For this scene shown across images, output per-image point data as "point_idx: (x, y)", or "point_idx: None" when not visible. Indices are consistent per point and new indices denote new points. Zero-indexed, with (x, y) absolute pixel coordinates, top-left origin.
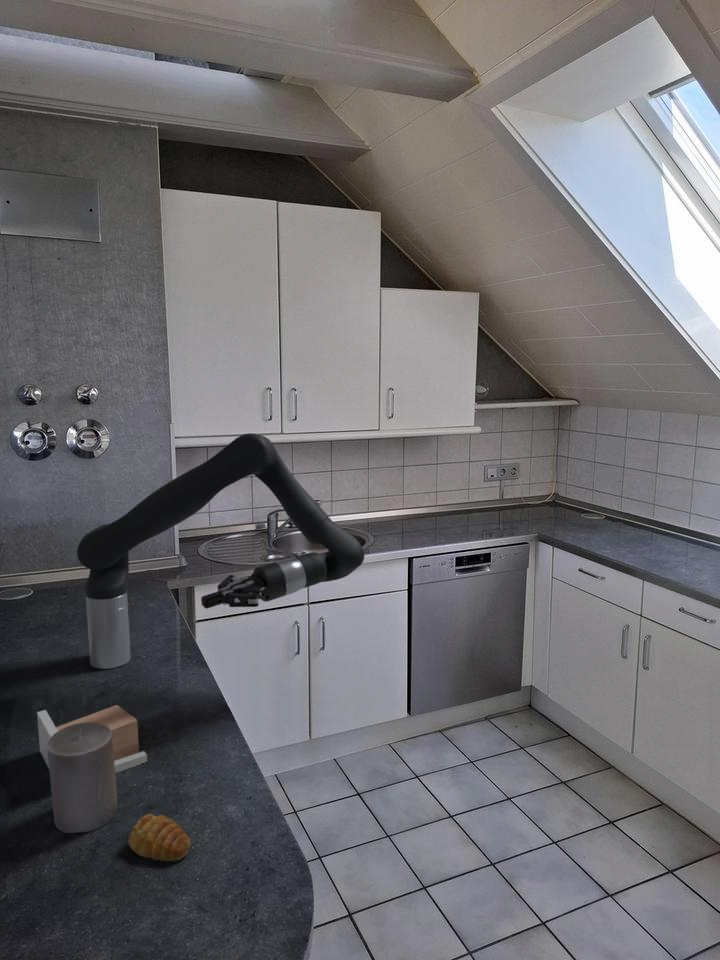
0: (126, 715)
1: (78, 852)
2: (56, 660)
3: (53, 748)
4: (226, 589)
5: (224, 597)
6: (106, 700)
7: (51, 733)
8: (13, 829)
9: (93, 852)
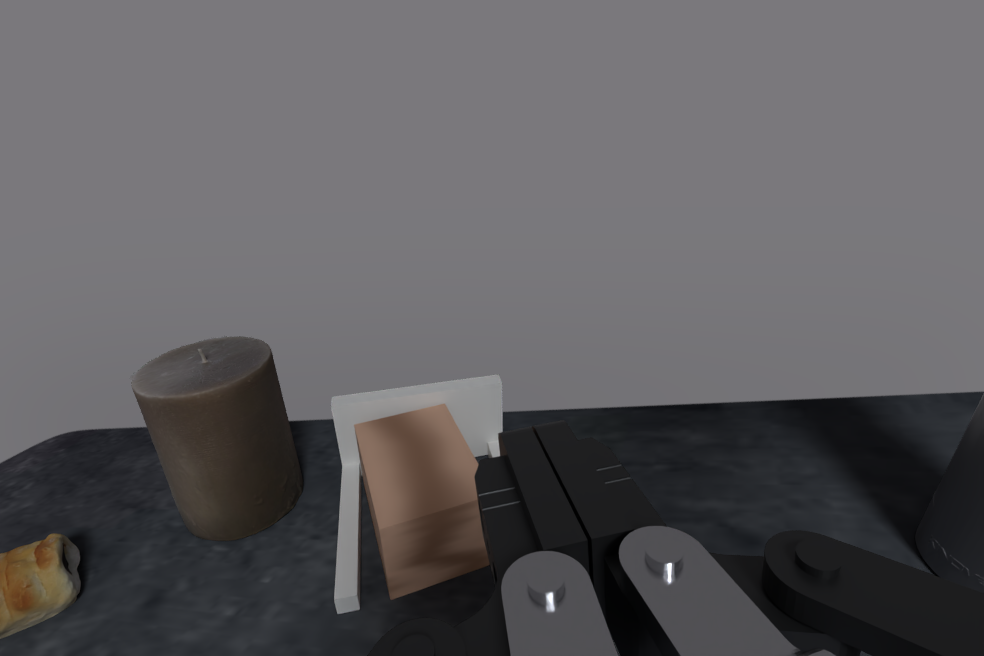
0: (421, 509)
1: (156, 487)
2: (936, 458)
3: (210, 341)
4: (658, 628)
5: (490, 609)
6: (706, 547)
7: (397, 390)
8: (295, 424)
9: (131, 504)
